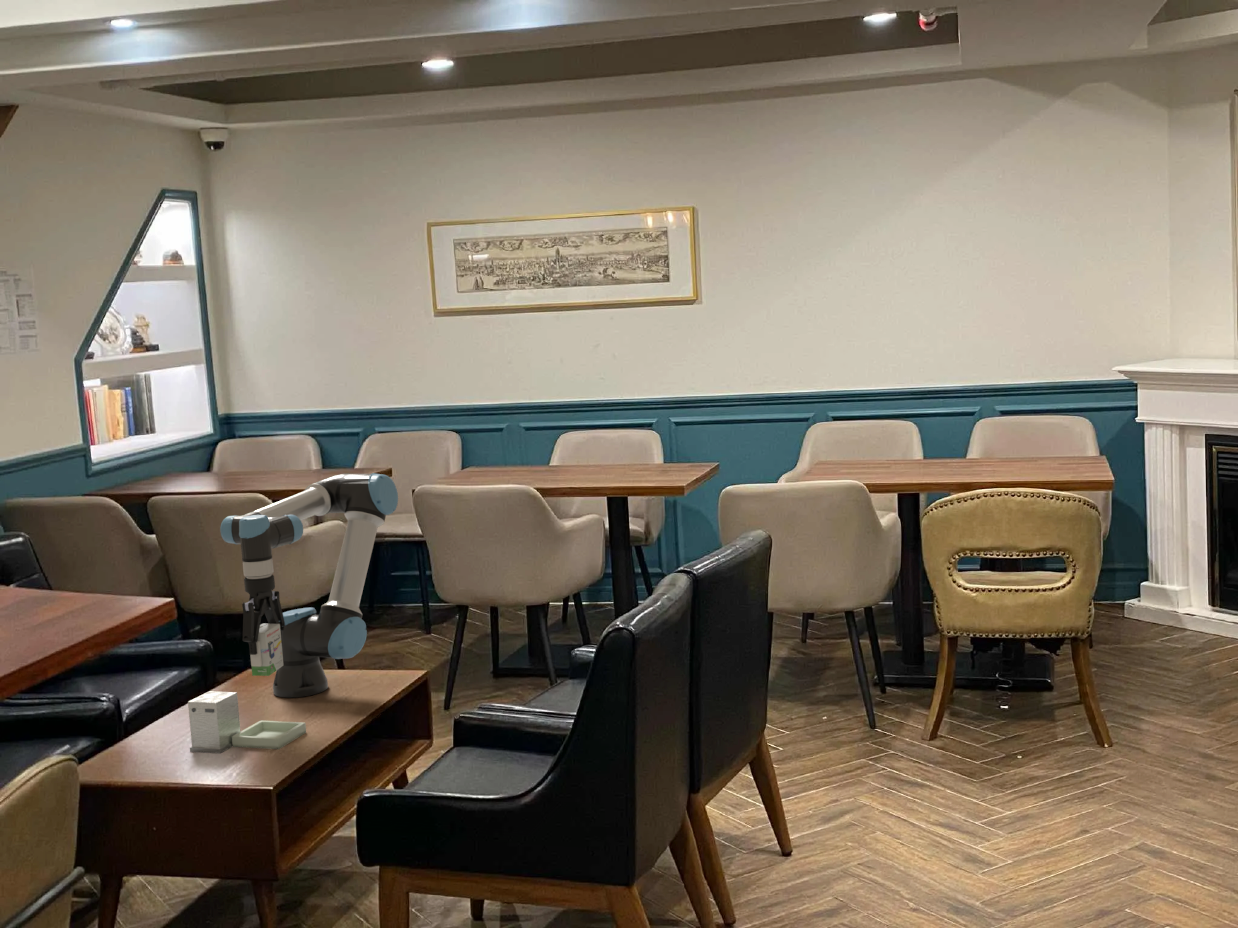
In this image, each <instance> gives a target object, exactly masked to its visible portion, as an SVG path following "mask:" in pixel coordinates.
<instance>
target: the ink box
mask: <svg viewBox="0 0 1238 928" xmlns="http://www.w3.org/2000/svg"><path fill="white" fill-rule="evenodd" d="M258 641H260V648H261V658H262V666H261V667H257V666H251V676H253V677H254V676H257V677H258V676H259V677H260V676H261V677H263V676H265V677H269V676H271V675H273V674H274V673H276V671H277V670H278V669H279V668H281V667H282V666H283V654H282V643H281V631H280V624H270V623H266V622H265V623H260V628H259V634H258Z"/></svg>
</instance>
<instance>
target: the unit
mask: <svg viewBox="0 0 1238 928" xmlns="http://www.w3.org/2000/svg"><path fill="white" fill-rule="evenodd" d="M187 705H188V718H189V719H188V720H189V729H190V739H191V746H190V747H189V752H192V753H194V752H195V753H210V754H222V753H223V752H225V751H227V750H228V749H231V748H232V747H233V745H232V736H234V735H235V734H237V733H239V732H241V723H240V722H241V721H240V712H239V699H238V692H237V691H236V692H235V691H215V690H210V691H207V692H205V693H203V694H201V695H199V696H197V697H195V698H193V699H190V700H188V701H187Z"/></svg>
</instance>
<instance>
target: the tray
mask: <svg viewBox="0 0 1238 928" xmlns="http://www.w3.org/2000/svg"><path fill="white" fill-rule="evenodd" d="M306 726H307V725H306V722H302V721H301V722H299V721H284V720H283V721H280V720H278V721H277V720H259V721H257V722H255V723H254V724H251V725H249V726H248V727H245V728H244V729H243V730H240V732H239V733H237V734H235V735H234V736H232V745H233V746H232V747H233V748H248V749H250V748H252V749H263V750H265V749H267V750H280V749H282V748H283V747H285V746H286V745H288V744H290V743H292V742H294V741H295V740H296V739H298V738H300V737H301V736H303V735H305V734H306V733H307V727H306Z"/></svg>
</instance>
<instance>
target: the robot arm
mask: <svg viewBox="0 0 1238 928" xmlns="http://www.w3.org/2000/svg"><path fill="white" fill-rule="evenodd" d="M398 502H399V494H398V488H397V486H396V484H395V482H394V481H393V479H392V478H391V477H390V476H388V475H386V474H382V473H381V474H380V473H376V472H373V473H341V474H340V473H338V474H335V475H333V476H330V477H326V478H323V479H322V480H318V481H317V482H313V483H311V484H309V485H307V486H306V487H305V488H304V490H303V491H301V492H298V493H296V494H293V495H291V496H288V497H286V498H283V499H279V501H276V502H273V503H271V504H268V505H266V506H264V507H263V506H262V507H261V508H258V509H256V510H253V511H250V512H248V513H245V514H243V515H238V514H237V515H236V514H234V515H228V516H226V517H225V518H223V520H222V521H221V524H220V528H219V529H220V531H219V532H220V536H221V538H222V540H223V541H224V542H225V543H228V544H234V545H240V550H241V561H242V572H243V576H244V577H245V578H243V583H244V591H245V592H246V593H247V594H249V596H248V597H249V599H248V601H247V602H242V603H241V605H242V611H243V612H242V613H243V615H242V617H243V618H242V642H244V643H248V649H249V655H250V657H249V658H250V665H251V667H252V666H257V667H261V666H262V658H261V648H260V641H258V634H259V628H260V625H261V620H262V617H263V616H265V618H266V620H267V622H268V623H270V624H280V631H281V643H282V654H283V666H282V667H281V668H279V669H278V670H277V671H275V675H274V680H273V684H272V691H273V692H272V693H273V695H274V696H276V697H279V698H289V699H290V698H303V697H309V696H313V695H317V694H321V693H322V692H325V691H326V690H327V689H328V688H329V684H328V682H329V681H328V678H327V675H326V673H325V671H324V668H323V666H322V663H321V661H320V660H321V659H320V658H328V659H329V658H331V659H335V660H341V659H345V660H346V659H352V658H354V657H355V656H356V655H358V654H359V653H360V652H361V650H362V649H363V647H364V645H365V643H366V641H367V636H368V634H367V633H368V631H367V625H366V622H365V621H364V619H362V618H363V613H362V611H361V609H360V604H361V600H362V595H363V590H364V586H365V583H366V578H367V573H368V569H369V565H370V561H371V558H372V553H373V549H374V544H375V540H376V536H377V531H378V528H380V527H381V526H383V525H385V521H386V517H387V516H390V515H392V514H393V513H394V512H395V511H396V509H397V506H398ZM328 514H343V516H344V517H345V519H346V521H347V524H346V527H345V528H346V529H345V531H344V536H343V540H342V545H341V548H340V553H339V555H338V560H337V564H336V568H335V572H334V577H333V581H332V585H331V589H330V594H329V597H328V600H327V602H326V603H325V602H324V604H323V603H322V605H321V606H320V610H319V614H317V610H316V609H315V607H312V606H311V607H303V608H297V609H296V608H295V609H291V610H287V611H284V612H283V609H282V604H281V600H280V590H279V591H278V590H275V589H276V583H275V575H274V573H275V572H274V571H275V570H274V561H273V553H272V552H273V551H272V549H276V548H279V547H280V548H281V547H282V546H286V545H292V544H293V543H295V542H297V541H299V540H300V539H302V536H303V534H304V525H303V522H302V521H304V520H306V519H309V518H312V517H313V516H317V517H322V516H325V515H328Z"/></svg>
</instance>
